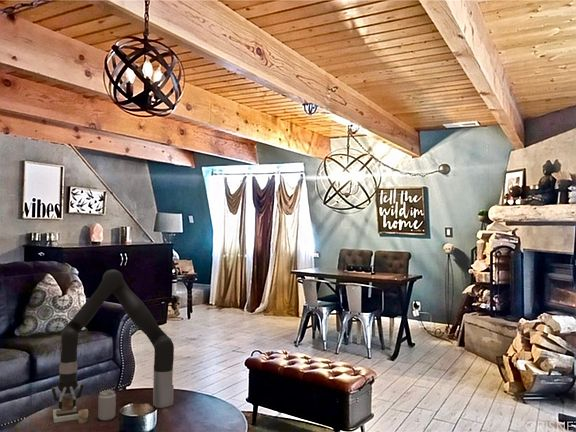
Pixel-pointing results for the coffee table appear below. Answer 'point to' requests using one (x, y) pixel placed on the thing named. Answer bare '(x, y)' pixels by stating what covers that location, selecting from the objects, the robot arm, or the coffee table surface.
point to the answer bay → (64, 418)
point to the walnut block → (67, 404)
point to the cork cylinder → (83, 416)
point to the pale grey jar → (106, 405)
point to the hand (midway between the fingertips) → (66, 408)
